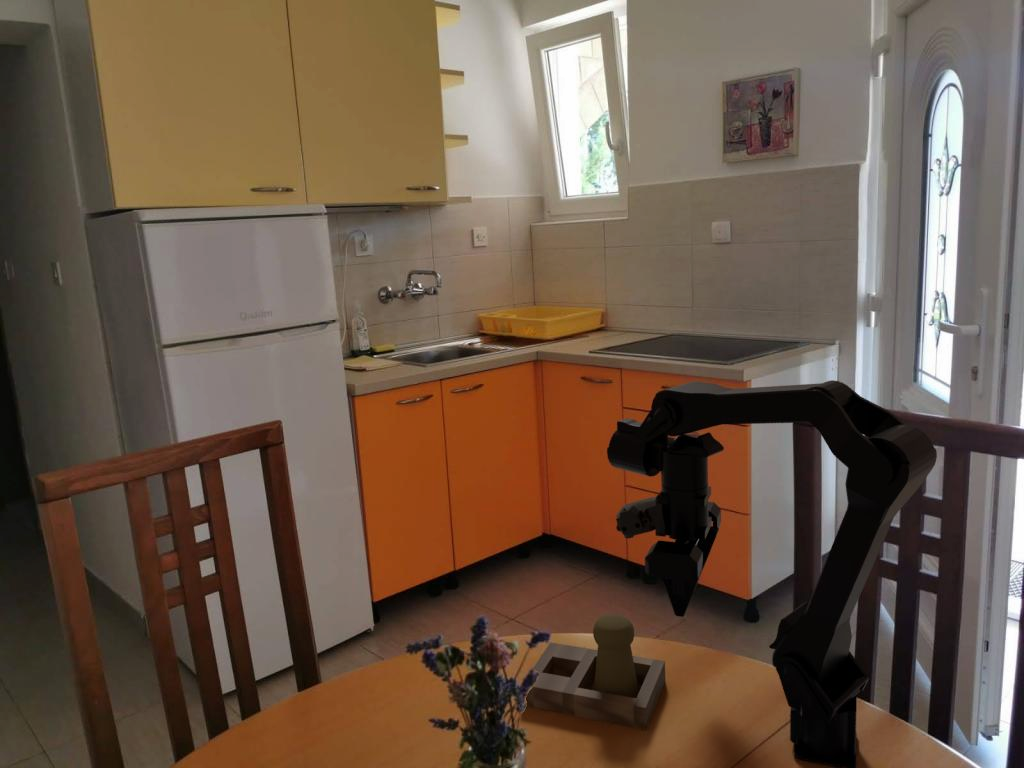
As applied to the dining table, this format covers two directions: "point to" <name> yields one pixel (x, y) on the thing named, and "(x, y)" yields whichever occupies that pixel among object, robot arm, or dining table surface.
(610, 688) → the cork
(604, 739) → the dining table surface
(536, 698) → the hole block
